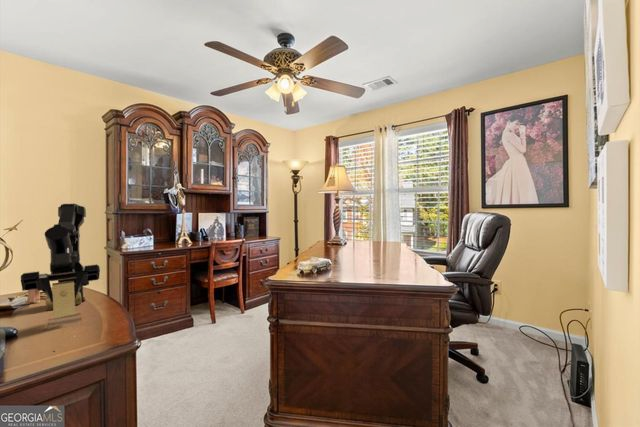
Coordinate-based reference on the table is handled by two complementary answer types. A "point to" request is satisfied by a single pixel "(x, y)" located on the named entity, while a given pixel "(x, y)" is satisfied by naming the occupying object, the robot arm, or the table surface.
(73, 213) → the robot arm
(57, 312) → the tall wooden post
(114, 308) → the table surface
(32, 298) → the grandmother figurine
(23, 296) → the table surface
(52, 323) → the tan flat block
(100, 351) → the table surface
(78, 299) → the gavel
